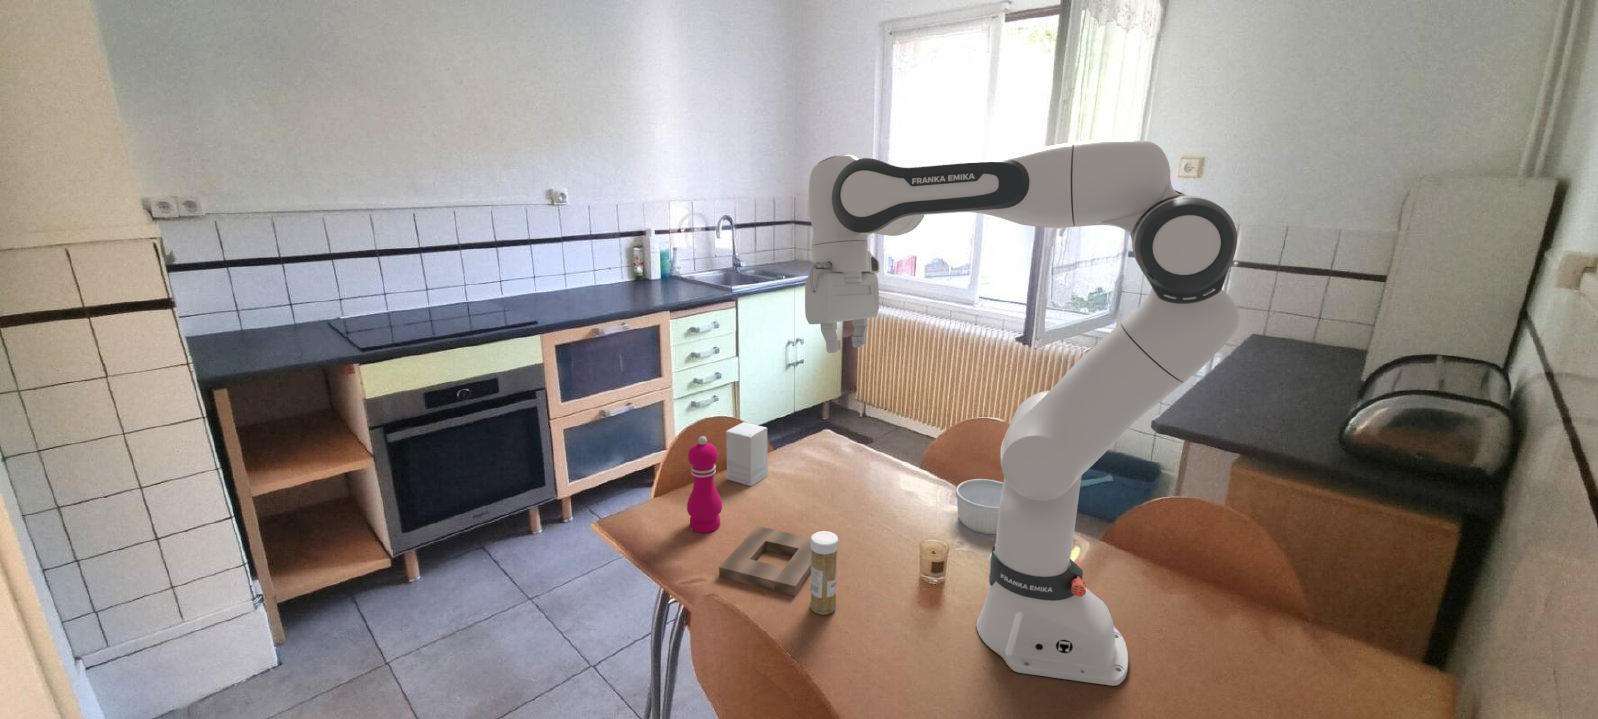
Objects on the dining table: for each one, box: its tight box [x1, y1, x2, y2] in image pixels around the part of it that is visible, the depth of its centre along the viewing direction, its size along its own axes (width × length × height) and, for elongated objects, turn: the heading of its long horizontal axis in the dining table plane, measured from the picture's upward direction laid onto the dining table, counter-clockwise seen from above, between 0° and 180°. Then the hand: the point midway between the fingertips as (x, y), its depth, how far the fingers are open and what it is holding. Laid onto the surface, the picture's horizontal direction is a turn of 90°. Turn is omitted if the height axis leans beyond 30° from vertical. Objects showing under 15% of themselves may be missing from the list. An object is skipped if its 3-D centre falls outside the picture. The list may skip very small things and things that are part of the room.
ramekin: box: [955, 478, 1004, 535], centre depth 141 cm, size 13×13×7 cm
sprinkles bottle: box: [809, 530, 839, 616], centre depth 112 cm, size 5×5×13 cm
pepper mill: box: [686, 435, 723, 534], centre depth 137 cm, size 7×7×20 cm
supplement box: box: [725, 421, 769, 487], centre depth 160 cm, size 7×7×13 cm
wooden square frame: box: [718, 525, 812, 597], centre depth 126 cm, size 15×16×2 cm
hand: (847, 349), depth 107 cm, fingers open, 8 cm apart
